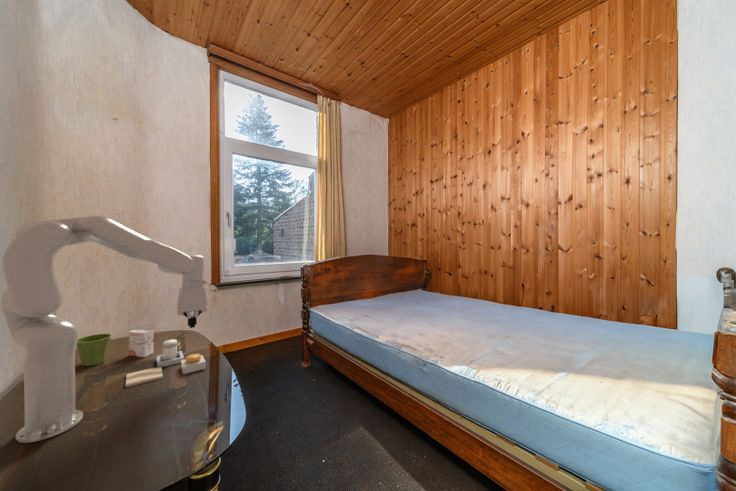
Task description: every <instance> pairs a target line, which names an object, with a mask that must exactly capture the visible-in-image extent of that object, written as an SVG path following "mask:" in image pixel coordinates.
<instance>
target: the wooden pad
mask: <svg viewBox="0 0 736 491" xmlns="http://www.w3.org/2000/svg"><path fill="white" fill-rule="evenodd" d="M162 368H163V367H161V366H159V367H156V366H155V367H152V368H148V369H143V370H138V371H134V372H131V373H127V374H126V378H125V387H124V388H129V387H130V388H131V387H134V386H138V385H141V384H142V385H143V384H145V383H149V382H153V381H157V380H161V379H164V376H163V375H164V374H163V370H162Z"/></svg>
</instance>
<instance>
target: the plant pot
mask: <svg viewBox="0 0 736 491" xmlns="http://www.w3.org/2000/svg"><path fill="white" fill-rule="evenodd" d="M112 337H113V334H112V333H97V334H92V335H86V336H82V337H80V338H79V337H78V339H77V345H76V349H77V350H78V354H79V358H80V363H81V365H82V366H83V367H85V366H86V367H92V366H96V364H97V365H99V364H101V363H104V362H105V361H106V357H107V354H108V348H109V344H110V341H111V338H112Z"/></svg>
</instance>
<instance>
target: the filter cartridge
mask: <svg viewBox="0 0 736 491" xmlns="http://www.w3.org/2000/svg"><path fill="white" fill-rule="evenodd" d="M162 350H163V352H162V353H163V354H162V355H163V360H162V361H166V360H171V359H175V358H178V357H177V352H178V340H177V339H168V340H167V339H166V340H165V341H163V343H162Z"/></svg>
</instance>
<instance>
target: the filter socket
mask: <svg viewBox="0 0 736 491" xmlns="http://www.w3.org/2000/svg"><path fill="white" fill-rule="evenodd" d="M178 356H179V357H178ZM184 359H185V356H184V353H183V351H182V350H179V351H178V350H177V358H175V359H171V360H166V361H163V354H160V355H156V365H157V367H159V366H161V367H162V368H164V367H167V366H172V365H177V364H181V360H184Z"/></svg>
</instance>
